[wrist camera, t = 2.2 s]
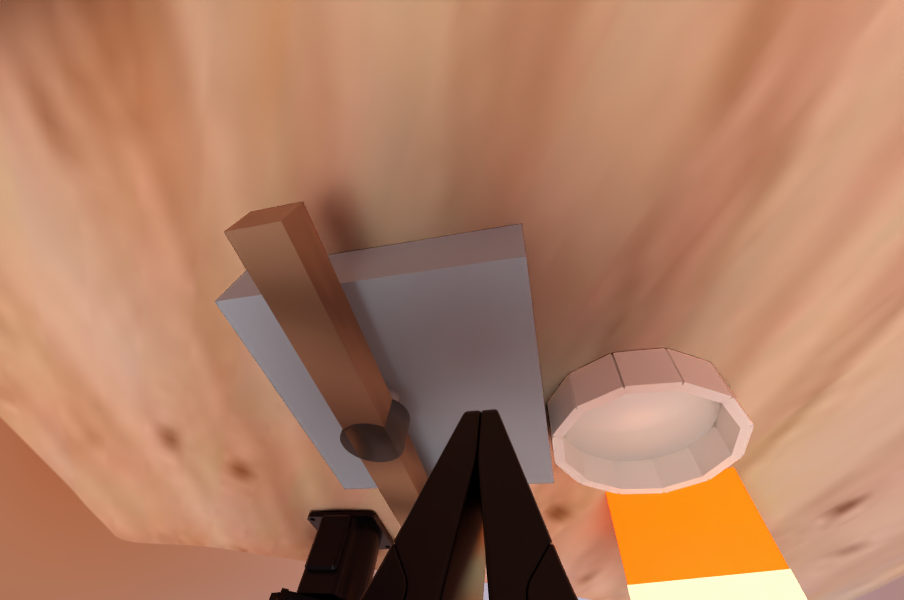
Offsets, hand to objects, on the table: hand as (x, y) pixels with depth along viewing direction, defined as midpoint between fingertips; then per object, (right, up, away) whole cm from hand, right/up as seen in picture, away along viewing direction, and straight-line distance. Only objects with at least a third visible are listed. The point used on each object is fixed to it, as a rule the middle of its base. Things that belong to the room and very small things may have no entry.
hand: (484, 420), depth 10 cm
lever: (-4, -3, +9) cm, 11 cm away
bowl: (+10, -4, +14) cm, 18 cm away
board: (-3, -1, +13) cm, 14 cm away
